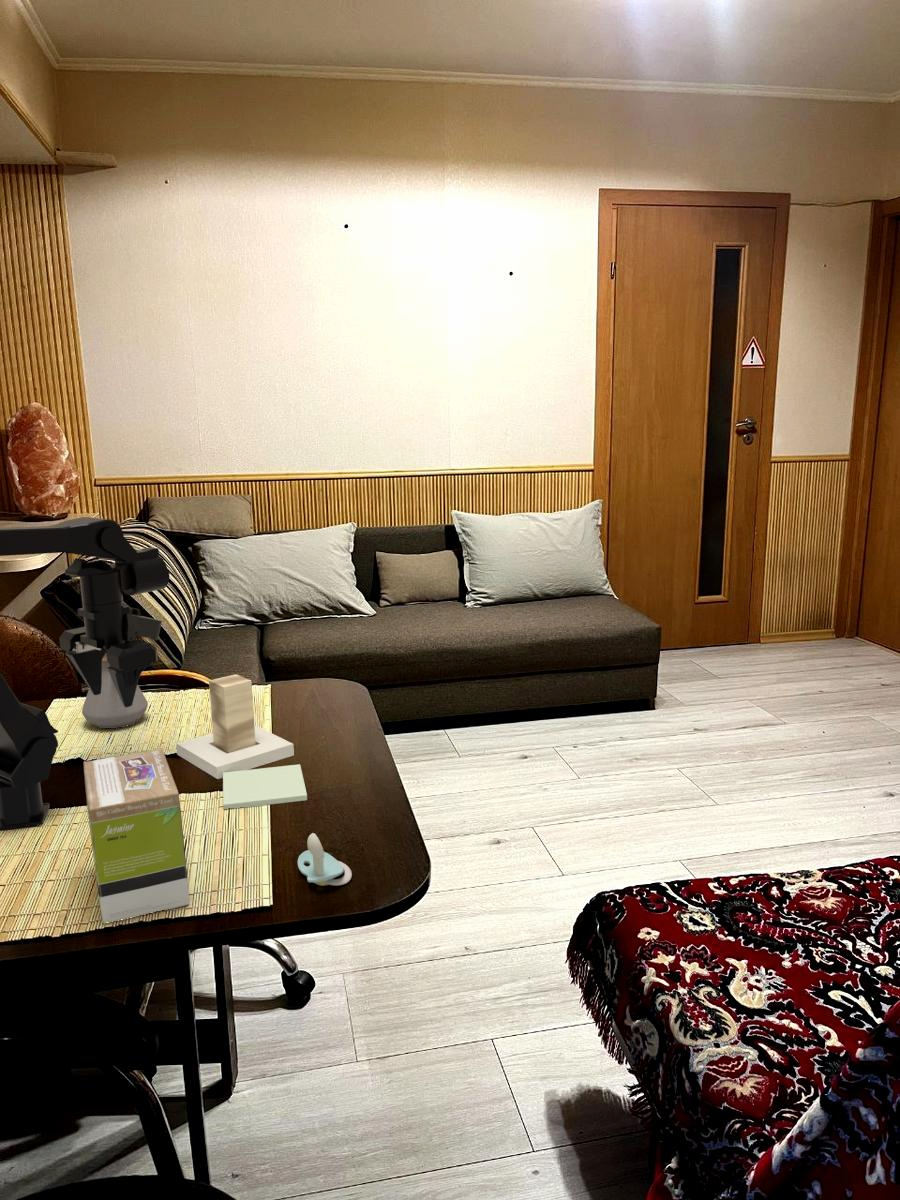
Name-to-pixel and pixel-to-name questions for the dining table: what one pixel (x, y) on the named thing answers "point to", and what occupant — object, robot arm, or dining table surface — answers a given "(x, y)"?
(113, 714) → the coffee pot
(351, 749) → the dining table surface
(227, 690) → the birch block
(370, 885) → the dining table surface
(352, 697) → the dining table surface
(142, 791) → the tea box
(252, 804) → the sage mat
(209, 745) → the pocket holder
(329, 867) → the pacifier
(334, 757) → the dining table surface
